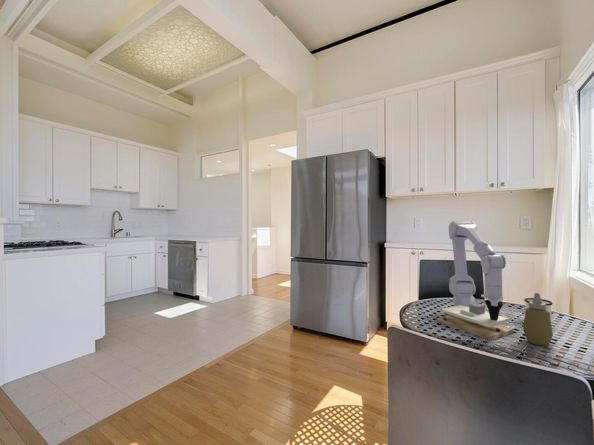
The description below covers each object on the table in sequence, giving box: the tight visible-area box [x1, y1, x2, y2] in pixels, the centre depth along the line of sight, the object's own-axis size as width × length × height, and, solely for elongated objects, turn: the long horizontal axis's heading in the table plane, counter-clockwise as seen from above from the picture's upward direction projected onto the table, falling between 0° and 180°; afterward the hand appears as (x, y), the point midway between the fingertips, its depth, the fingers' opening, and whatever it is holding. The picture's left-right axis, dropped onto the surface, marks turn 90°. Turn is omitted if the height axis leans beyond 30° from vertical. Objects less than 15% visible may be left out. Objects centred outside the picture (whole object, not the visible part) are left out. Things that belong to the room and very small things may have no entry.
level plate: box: [440, 302, 510, 327], centre depth 116 cm, size 13×20×4 cm, turn 26°
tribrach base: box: [437, 314, 514, 341], centre depth 116 cm, size 15×22×4 cm
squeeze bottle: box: [522, 292, 554, 347], centre depth 100 cm, size 8×8×18 cm
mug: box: [523, 297, 554, 320], centre depth 120 cm, size 12×10×9 cm
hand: (493, 319), depth 108 cm, fingers closed, pressing on level plate
